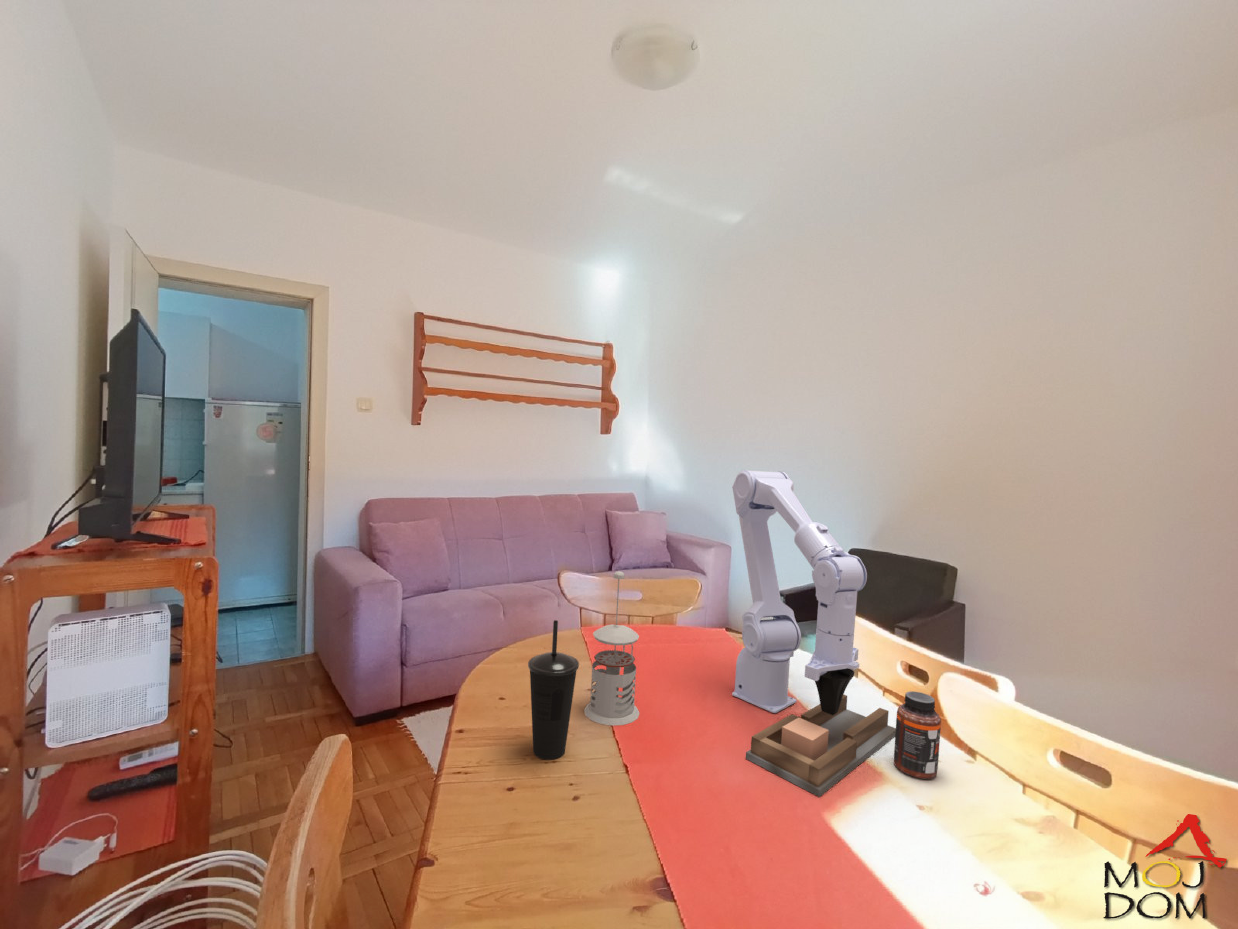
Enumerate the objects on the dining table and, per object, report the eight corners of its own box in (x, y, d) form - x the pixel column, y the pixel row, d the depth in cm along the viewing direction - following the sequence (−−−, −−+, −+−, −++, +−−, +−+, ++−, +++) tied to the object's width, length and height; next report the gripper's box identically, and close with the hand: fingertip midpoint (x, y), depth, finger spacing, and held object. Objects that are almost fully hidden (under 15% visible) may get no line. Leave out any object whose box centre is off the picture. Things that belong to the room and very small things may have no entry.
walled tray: (745, 758, 86) (746, 736, 86) (829, 708, 104) (831, 689, 104) (819, 797, 77) (820, 772, 77) (896, 734, 96) (898, 714, 96)
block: (780, 752, 86) (782, 727, 86) (797, 742, 89) (798, 717, 89) (810, 767, 82) (812, 740, 82) (826, 755, 86) (828, 730, 86)
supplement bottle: (943, 784, 82) (949, 708, 81) (899, 777, 83) (904, 702, 82) (929, 762, 88) (934, 691, 87) (888, 756, 89) (893, 685, 88)
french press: (574, 717, 96) (581, 572, 95) (601, 691, 107) (608, 561, 106) (627, 731, 92) (635, 580, 91) (650, 702, 103) (657, 568, 102)
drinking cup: (583, 746, 87) (589, 619, 86) (557, 771, 80) (564, 632, 79) (541, 733, 90) (547, 610, 89) (513, 756, 83) (519, 623, 82)
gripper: (838, 646, 83) (831, 736, 83) (878, 628, 93) (872, 708, 93) (795, 633, 88) (789, 717, 88) (837, 617, 98) (832, 693, 98)
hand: (829, 712), depth 91 cm, fingers closed
